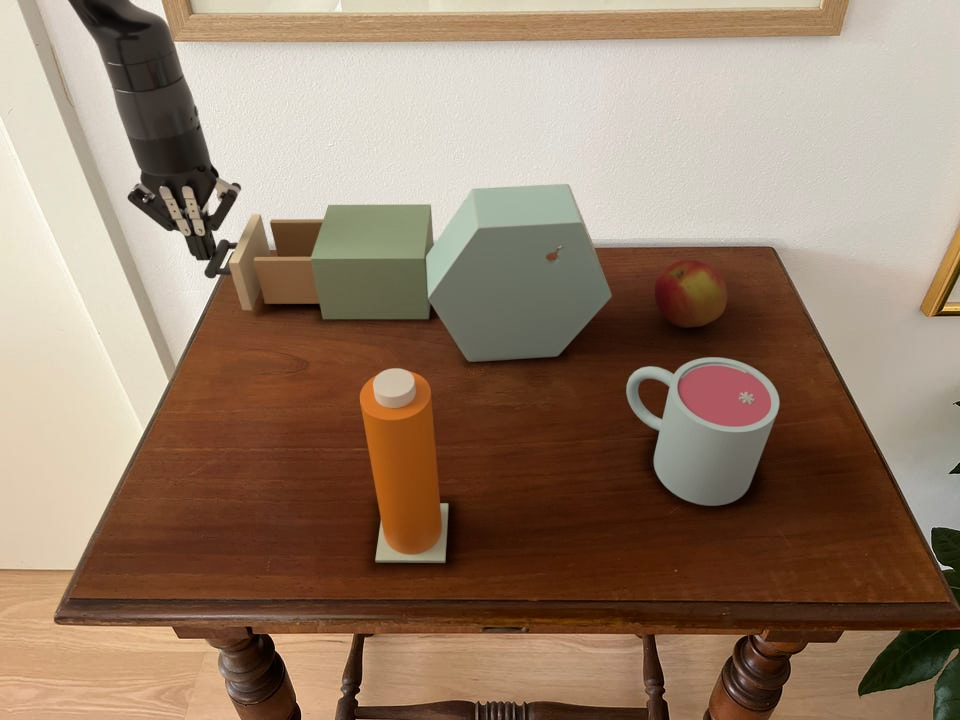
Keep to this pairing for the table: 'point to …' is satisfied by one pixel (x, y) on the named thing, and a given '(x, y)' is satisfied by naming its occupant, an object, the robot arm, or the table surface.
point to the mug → (709, 427)
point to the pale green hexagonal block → (515, 273)
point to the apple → (690, 293)
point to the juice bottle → (403, 458)
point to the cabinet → (373, 261)
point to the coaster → (430, 556)
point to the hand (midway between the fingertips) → (205, 256)
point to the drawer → (271, 262)
